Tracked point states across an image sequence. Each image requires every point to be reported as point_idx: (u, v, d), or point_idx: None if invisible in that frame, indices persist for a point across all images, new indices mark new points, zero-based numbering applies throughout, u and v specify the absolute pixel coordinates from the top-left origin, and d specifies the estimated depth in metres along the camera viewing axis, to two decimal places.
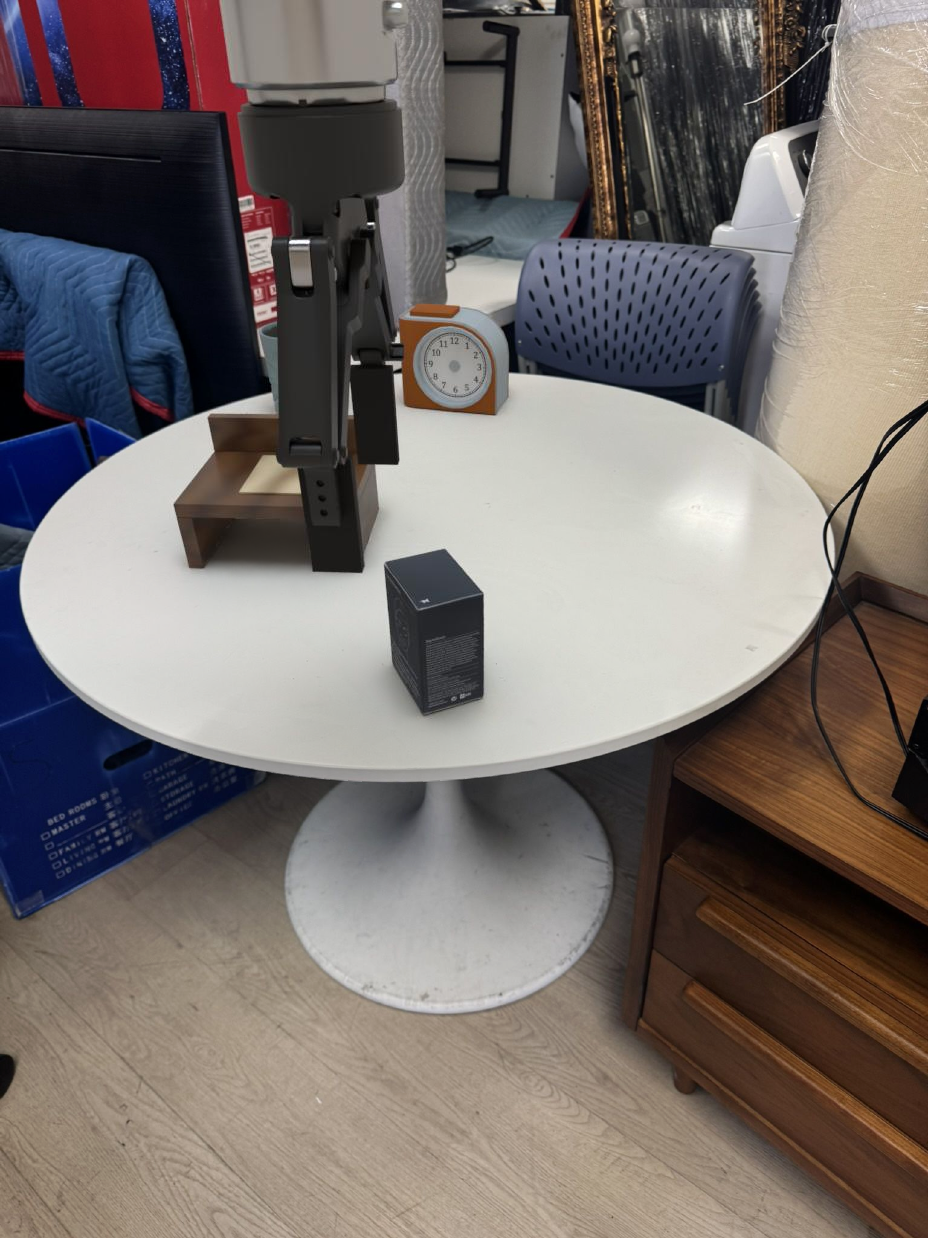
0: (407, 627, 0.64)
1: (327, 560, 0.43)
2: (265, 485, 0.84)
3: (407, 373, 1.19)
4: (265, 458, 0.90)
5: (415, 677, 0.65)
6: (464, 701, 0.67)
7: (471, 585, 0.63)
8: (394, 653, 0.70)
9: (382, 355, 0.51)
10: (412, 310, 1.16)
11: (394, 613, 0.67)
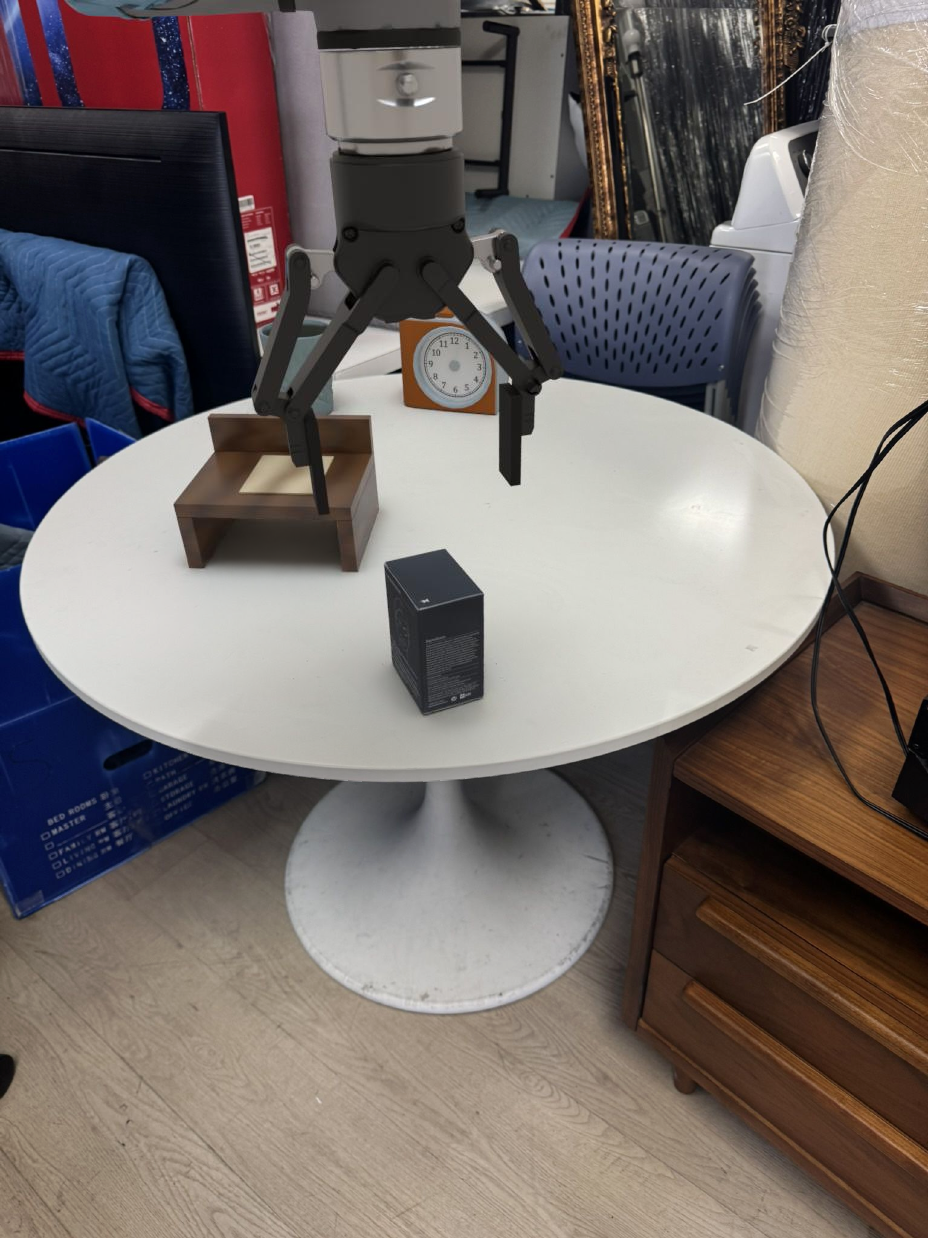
0: (407, 627, 0.64)
1: (313, 494, 0.56)
2: (265, 485, 0.84)
3: (407, 373, 1.19)
4: (265, 458, 0.90)
5: (415, 677, 0.65)
6: (464, 701, 0.67)
7: (471, 585, 0.63)
8: (394, 653, 0.70)
9: (517, 383, 0.54)
10: None
11: (394, 613, 0.67)
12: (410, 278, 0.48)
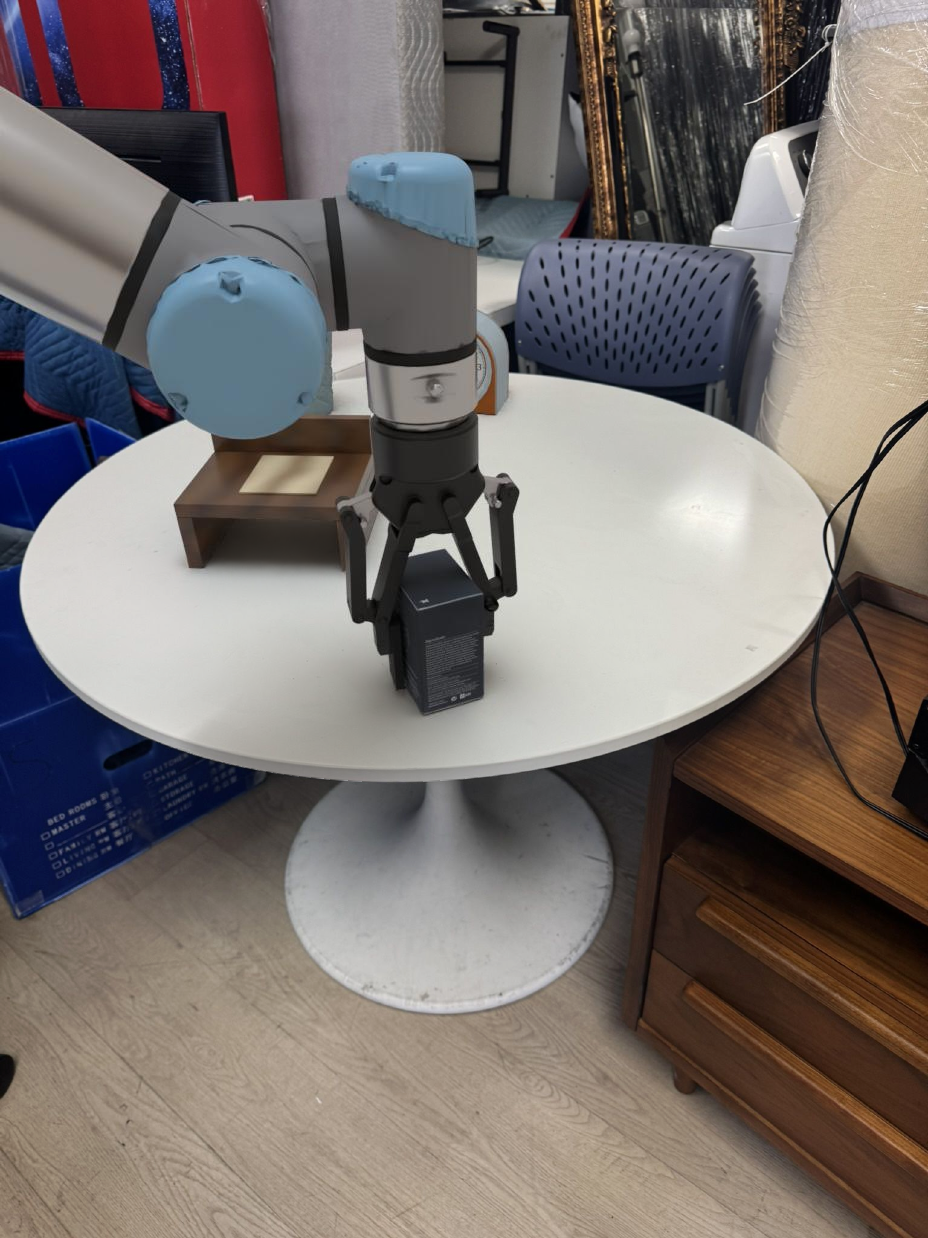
0: (407, 627, 0.64)
1: (391, 670, 0.69)
2: (265, 485, 0.84)
3: None
4: (265, 458, 0.90)
5: (415, 677, 0.65)
6: (464, 701, 0.67)
7: (471, 585, 0.63)
8: None
9: None
10: None
11: None
12: (433, 506, 0.59)
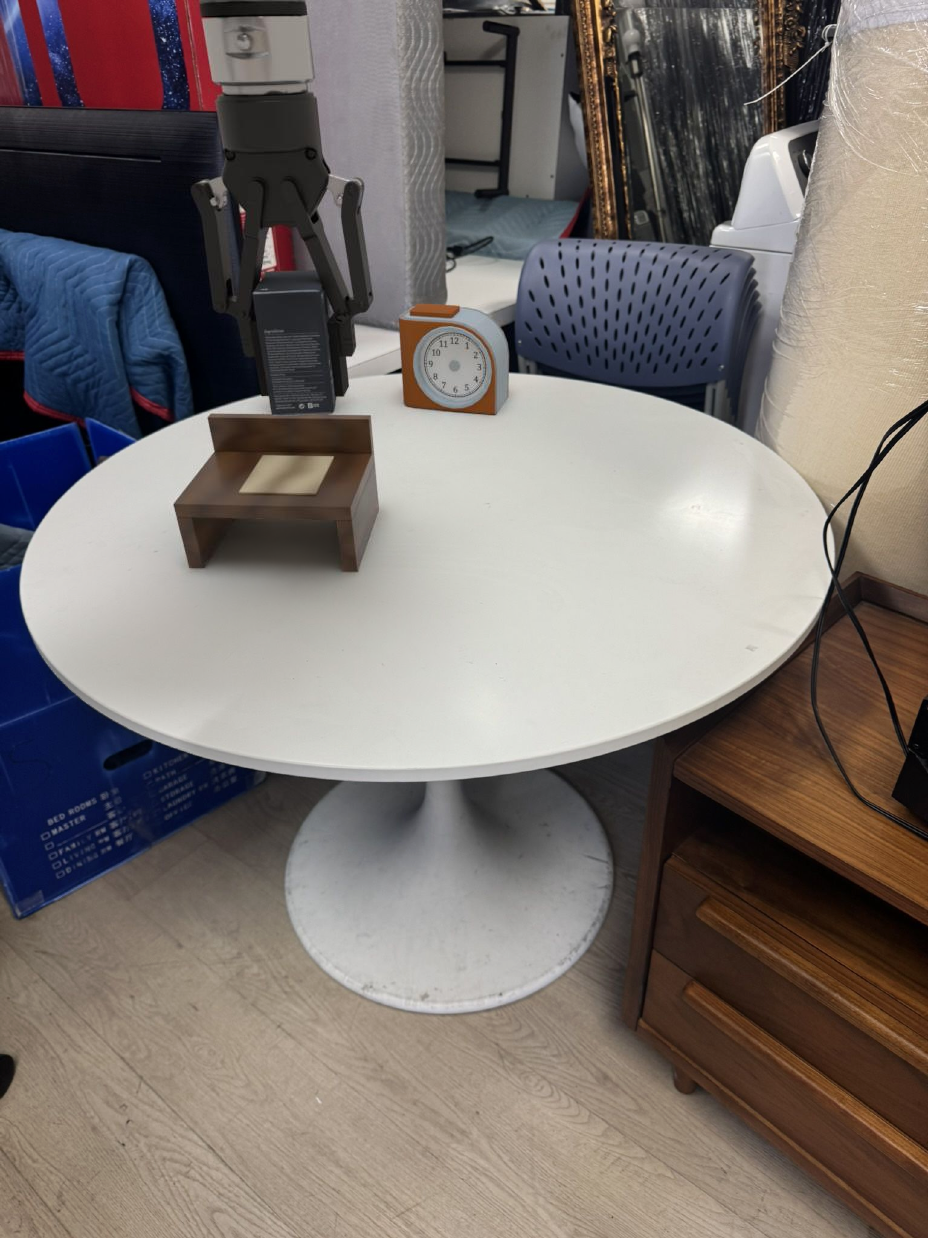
0: None
1: None
2: (265, 485, 0.84)
3: (407, 373, 1.19)
4: (265, 458, 0.90)
5: None
6: (313, 412, 0.72)
7: (314, 285, 0.67)
8: None
9: None
10: (412, 310, 1.16)
11: None
12: (276, 193, 0.64)
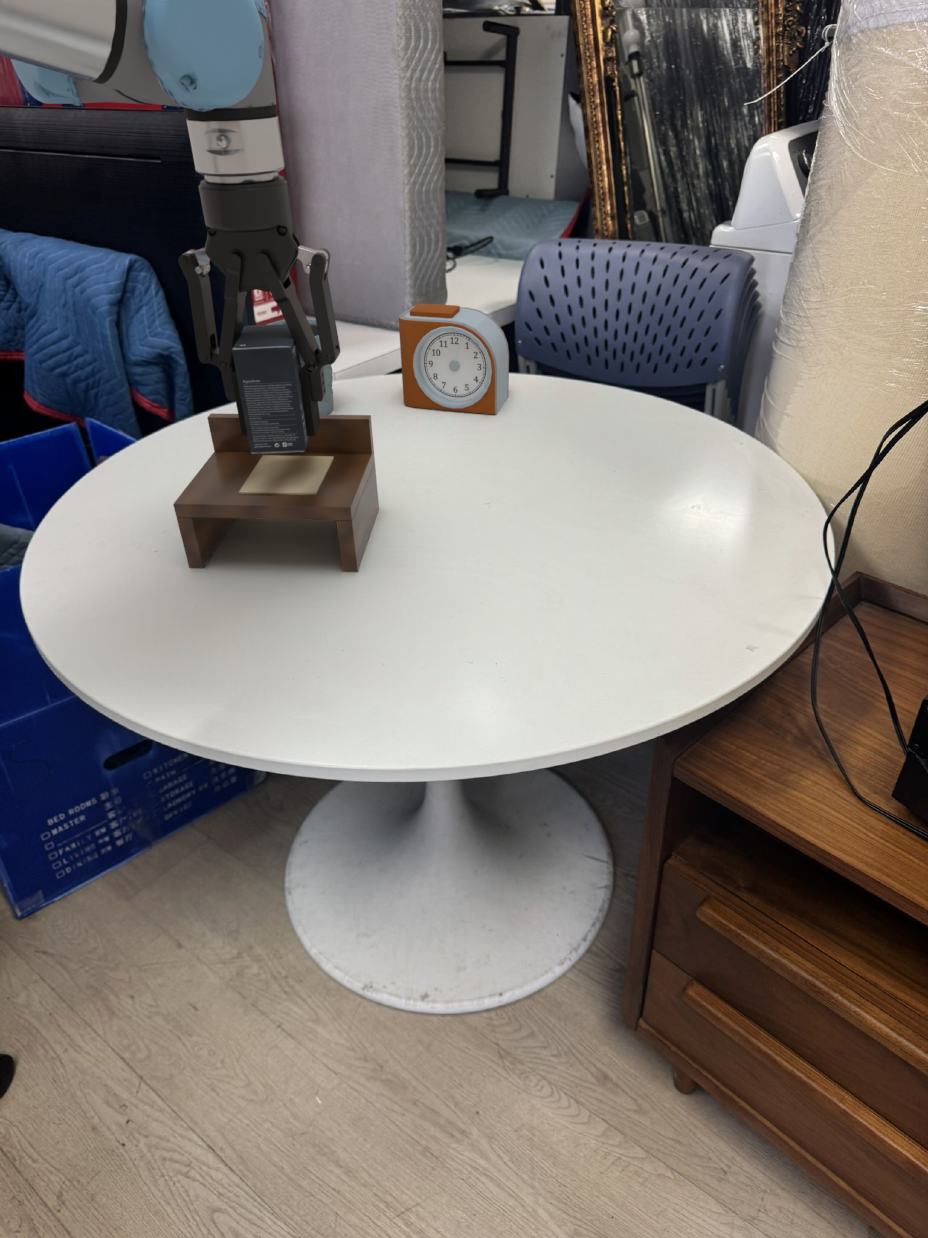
0: None
1: None
2: (265, 485, 0.84)
3: (407, 373, 1.19)
4: (265, 458, 0.90)
5: None
6: (287, 450, 0.81)
7: (287, 341, 0.76)
8: None
9: None
10: (412, 310, 1.16)
11: None
12: (253, 263, 0.73)
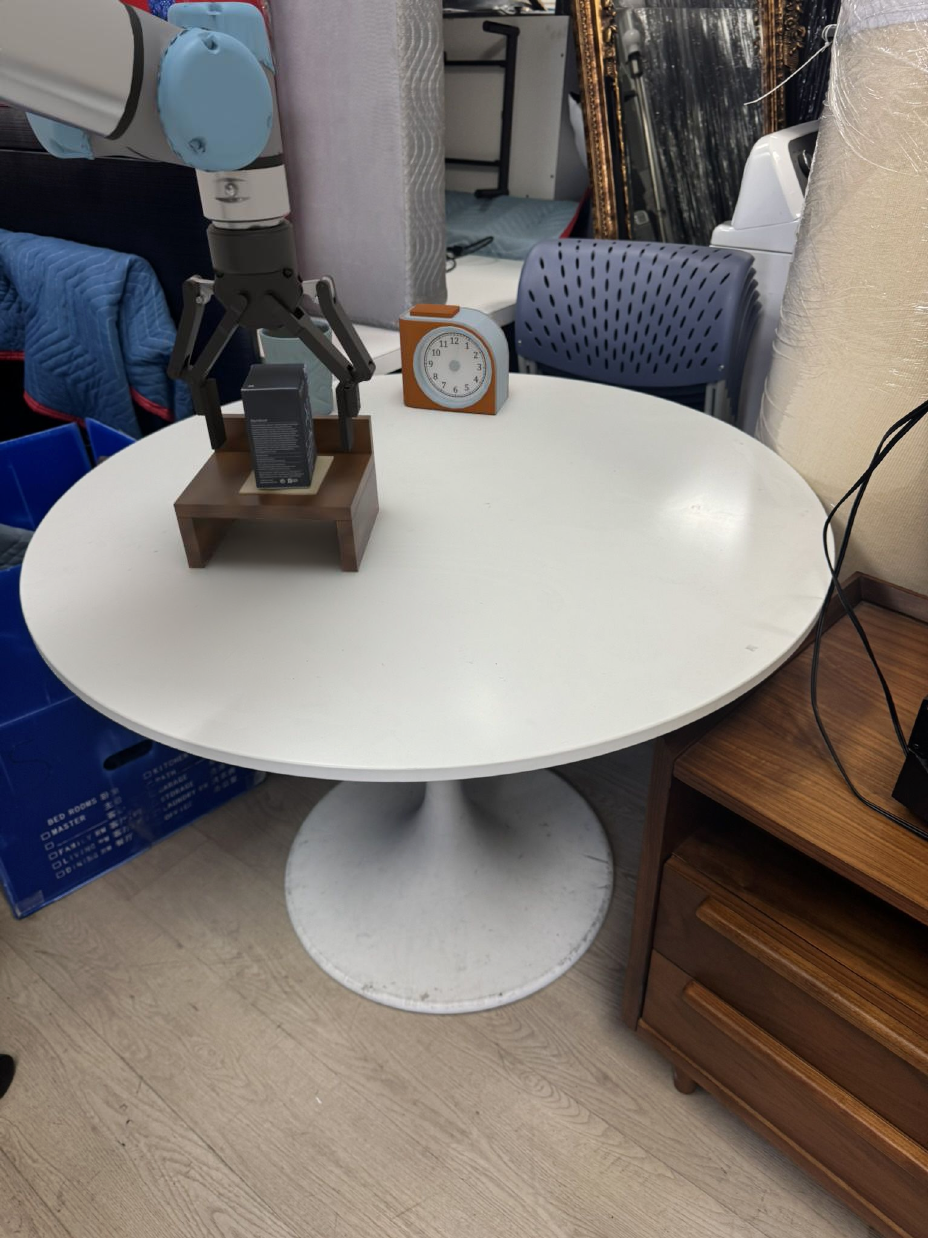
0: None
1: None
2: None
3: (407, 373, 1.19)
4: None
5: None
6: (292, 486, 0.83)
7: (294, 382, 0.78)
8: None
9: None
10: (412, 310, 1.16)
11: None
12: (259, 303, 0.75)
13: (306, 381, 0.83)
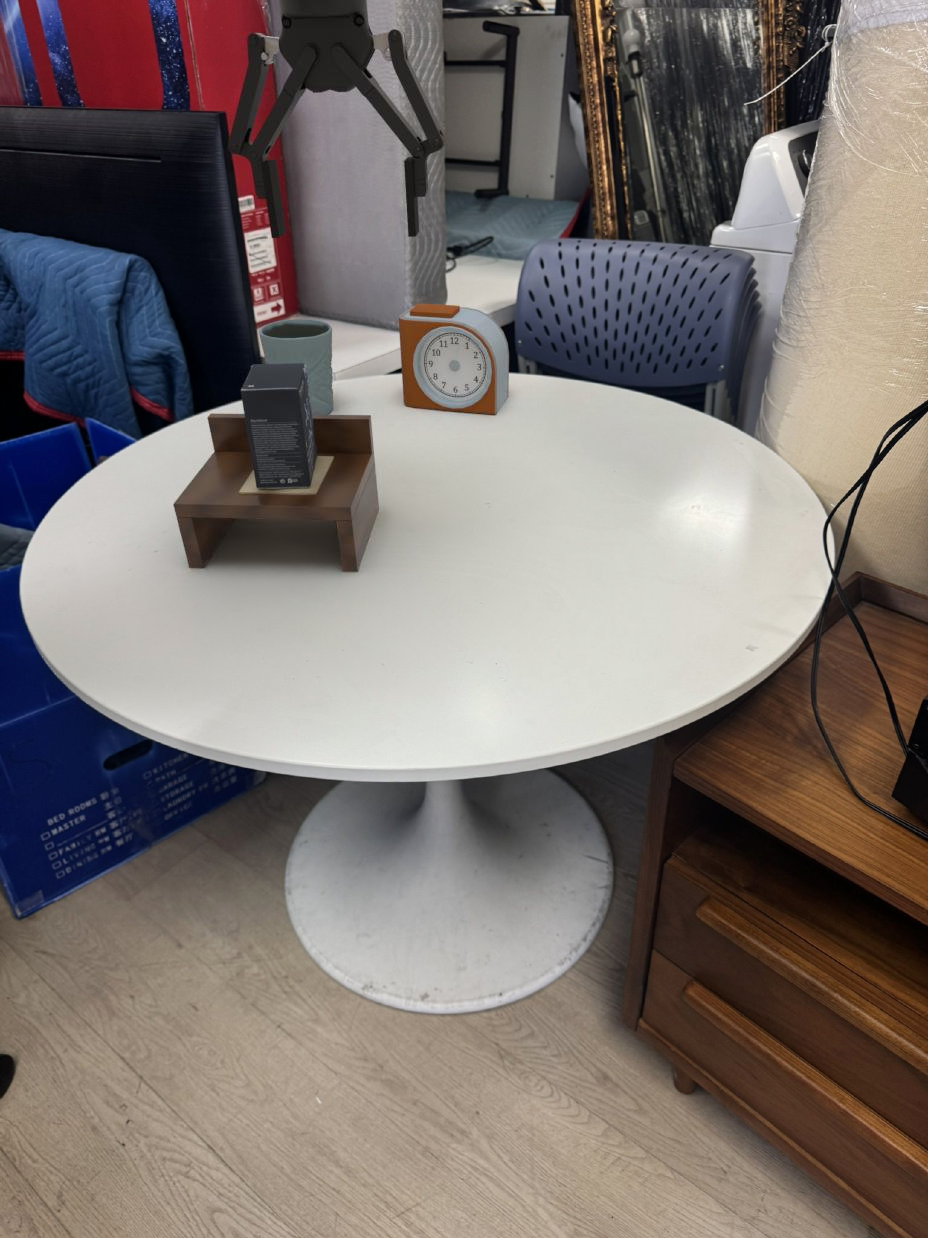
0: None
1: None
2: None
3: (407, 373, 1.19)
4: None
5: None
6: (292, 486, 0.83)
7: (294, 382, 0.78)
8: None
9: None
10: (412, 310, 1.16)
11: None
12: (327, 58, 0.72)
13: (306, 381, 0.83)
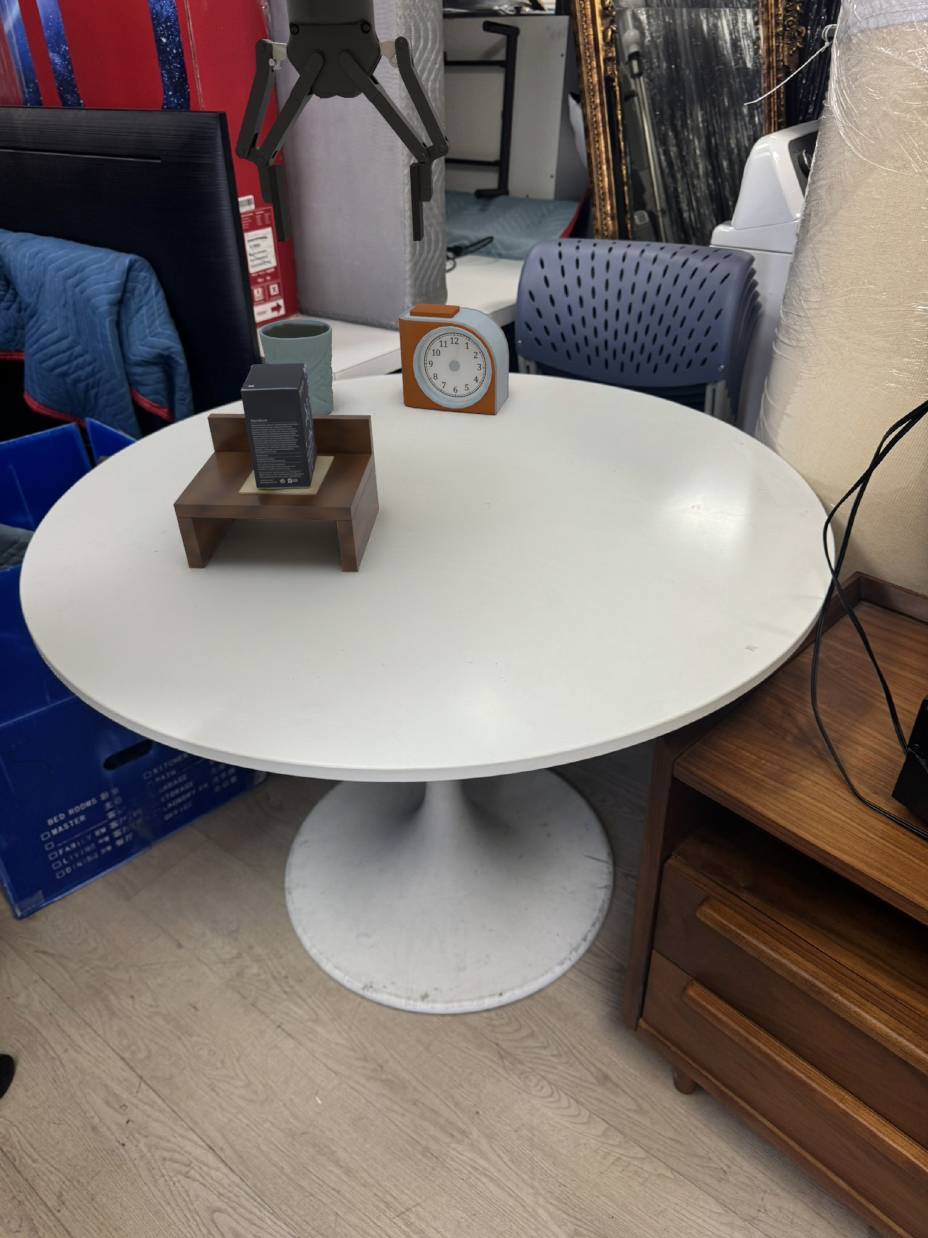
0: None
1: None
2: None
3: (407, 373, 1.19)
4: None
5: None
6: (292, 486, 0.83)
7: (294, 382, 0.78)
8: None
9: None
10: (412, 310, 1.16)
11: None
12: (334, 65, 0.73)
13: (306, 381, 0.83)
